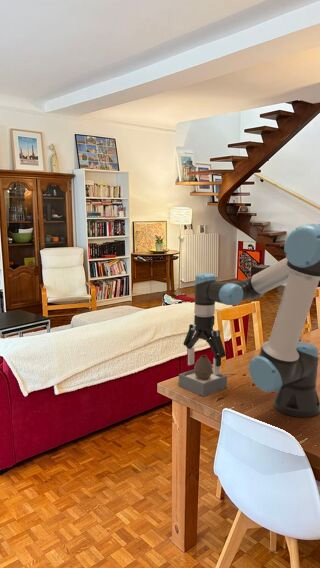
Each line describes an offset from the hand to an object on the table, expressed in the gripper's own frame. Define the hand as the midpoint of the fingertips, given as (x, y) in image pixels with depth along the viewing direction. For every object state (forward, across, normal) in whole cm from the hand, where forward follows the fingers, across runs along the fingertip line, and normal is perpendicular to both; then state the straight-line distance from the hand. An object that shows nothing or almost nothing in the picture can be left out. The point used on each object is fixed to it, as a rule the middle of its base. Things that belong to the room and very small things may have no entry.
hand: (203, 369), depth 166 cm
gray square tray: (+7, 0, 0) cm, 7 cm away
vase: (+4, 0, 0) cm, 4 cm away
